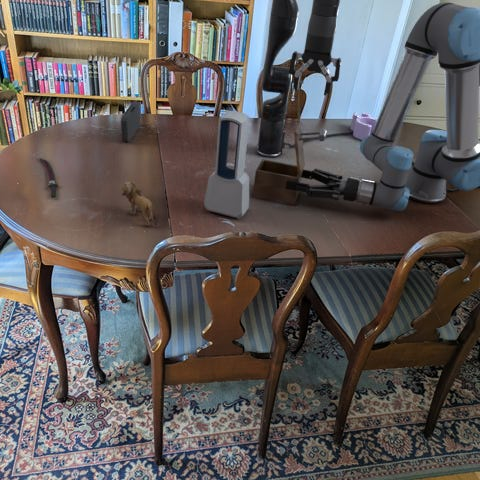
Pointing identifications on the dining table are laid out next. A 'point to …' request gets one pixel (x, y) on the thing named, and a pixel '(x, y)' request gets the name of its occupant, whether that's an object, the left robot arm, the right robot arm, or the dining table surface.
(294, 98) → the miniature windmill
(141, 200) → the lion figurine
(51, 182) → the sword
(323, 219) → the dining table surface
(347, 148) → the dining table surface
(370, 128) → the clip
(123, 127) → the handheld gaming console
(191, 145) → the dining table surface
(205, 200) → the electronic device
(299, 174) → the lid
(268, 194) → the chest
